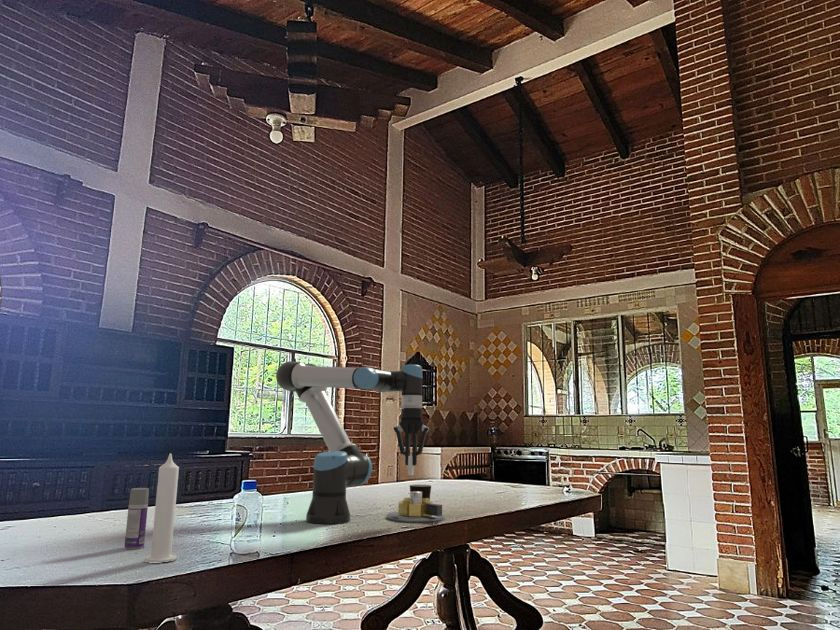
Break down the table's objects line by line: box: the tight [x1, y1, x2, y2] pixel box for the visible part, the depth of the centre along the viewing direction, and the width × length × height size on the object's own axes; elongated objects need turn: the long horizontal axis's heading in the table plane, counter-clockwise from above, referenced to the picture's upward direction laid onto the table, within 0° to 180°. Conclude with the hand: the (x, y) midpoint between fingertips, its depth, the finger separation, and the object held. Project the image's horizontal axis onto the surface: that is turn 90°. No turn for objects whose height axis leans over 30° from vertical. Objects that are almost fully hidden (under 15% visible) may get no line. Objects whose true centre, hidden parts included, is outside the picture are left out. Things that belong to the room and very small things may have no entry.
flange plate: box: [386, 491, 446, 524], centre depth 216 cm, size 21×21×9 cm
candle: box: [143, 453, 180, 562], centre depth 144 cm, size 7×7×25 cm
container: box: [123, 487, 150, 550], centre depth 157 cm, size 5×5×15 cm
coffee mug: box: [409, 484, 432, 502], centre depth 234 cm, size 12×9×10 cm
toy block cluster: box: [397, 497, 443, 517], centre depth 213 cm, size 19×12×5 cm, turn 42°
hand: (410, 474), depth 209 cm, fingers closed
